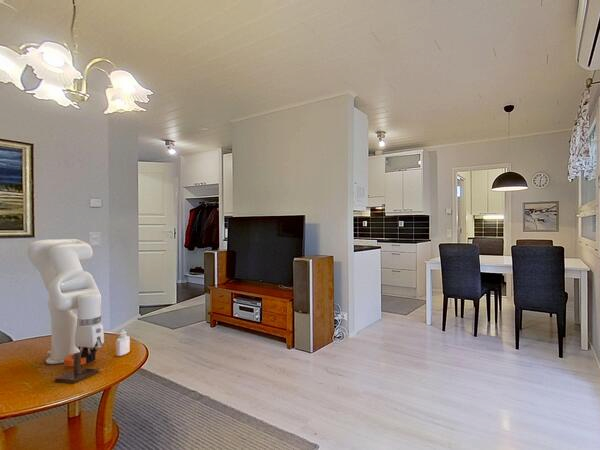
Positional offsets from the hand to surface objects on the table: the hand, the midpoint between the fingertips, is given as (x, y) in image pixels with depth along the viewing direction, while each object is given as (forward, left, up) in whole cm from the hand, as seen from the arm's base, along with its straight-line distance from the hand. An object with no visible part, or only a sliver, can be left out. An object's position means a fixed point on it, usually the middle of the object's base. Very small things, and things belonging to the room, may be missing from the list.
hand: (88, 361), depth 137 cm
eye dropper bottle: (+3, +13, -2) cm, 13 cm away
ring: (-4, 0, 0) cm, 4 cm away
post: (+7, -9, -2) cm, 12 cm away
